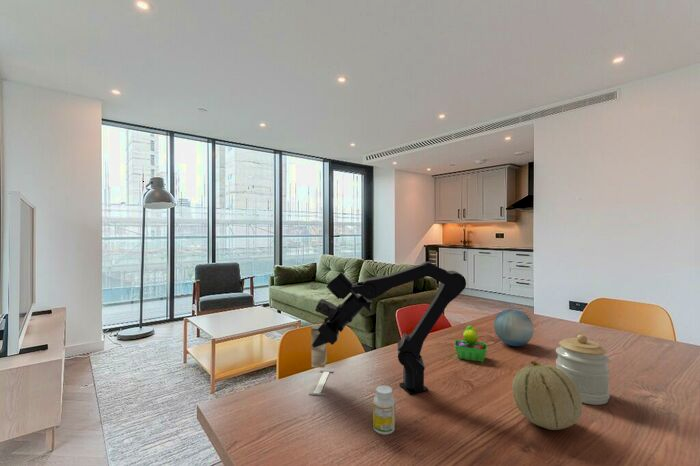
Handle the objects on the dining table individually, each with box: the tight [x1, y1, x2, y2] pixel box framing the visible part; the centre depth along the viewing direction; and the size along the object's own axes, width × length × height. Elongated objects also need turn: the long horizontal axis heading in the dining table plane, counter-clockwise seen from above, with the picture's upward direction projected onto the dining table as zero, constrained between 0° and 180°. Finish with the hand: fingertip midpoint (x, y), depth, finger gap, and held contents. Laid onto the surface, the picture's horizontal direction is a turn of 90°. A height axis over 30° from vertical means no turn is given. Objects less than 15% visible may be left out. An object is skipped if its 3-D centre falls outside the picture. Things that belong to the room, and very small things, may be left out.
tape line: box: [308, 369, 334, 397], centre depth 101 cm, size 16×4×1 cm, turn 173°
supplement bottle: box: [372, 384, 396, 436], centre depth 78 cm, size 5×5×10 cm
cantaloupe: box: [511, 360, 583, 431], centre depth 80 cm, size 15×15×15 cm
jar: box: [555, 334, 611, 406], centre depth 95 cm, size 13×13×18 cm
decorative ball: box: [493, 308, 535, 347], centre depth 135 cm, size 15×15×15 cm
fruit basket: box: [454, 325, 488, 363], centre depth 122 cm, size 11×9×11 cm
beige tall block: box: [310, 324, 328, 369], centre depth 101 cm, size 4×4×12 cm
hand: (314, 343), depth 102 cm, fingers closed on beige tall block, 4 cm apart
